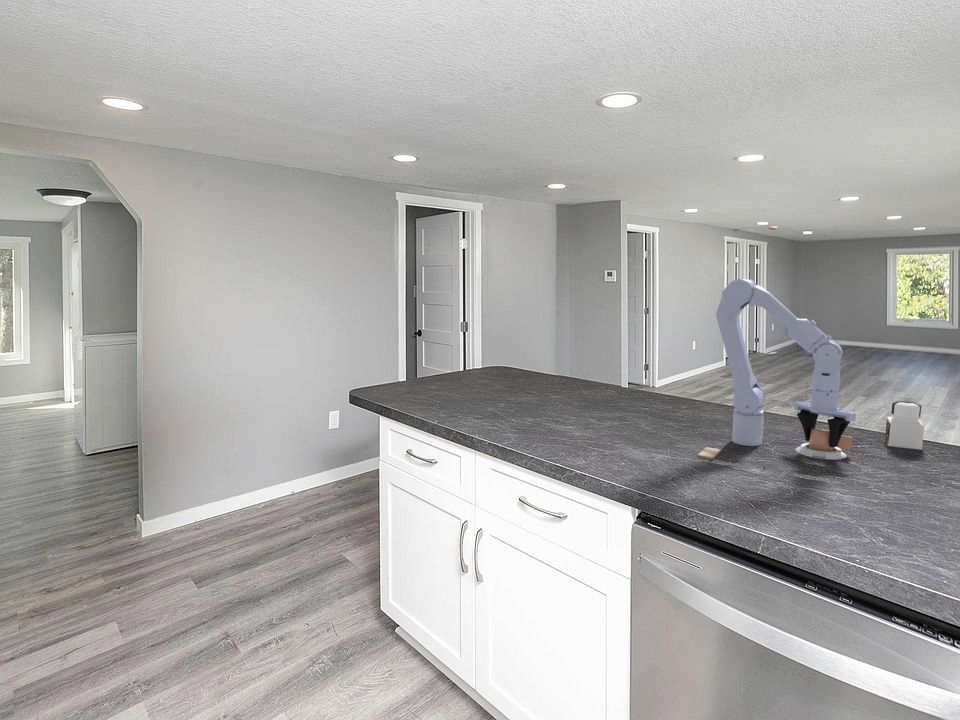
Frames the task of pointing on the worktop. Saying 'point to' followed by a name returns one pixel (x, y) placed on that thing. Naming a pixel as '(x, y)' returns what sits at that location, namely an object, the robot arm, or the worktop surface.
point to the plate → (820, 452)
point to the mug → (826, 441)
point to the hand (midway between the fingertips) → (821, 443)
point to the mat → (709, 453)
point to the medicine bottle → (905, 426)
